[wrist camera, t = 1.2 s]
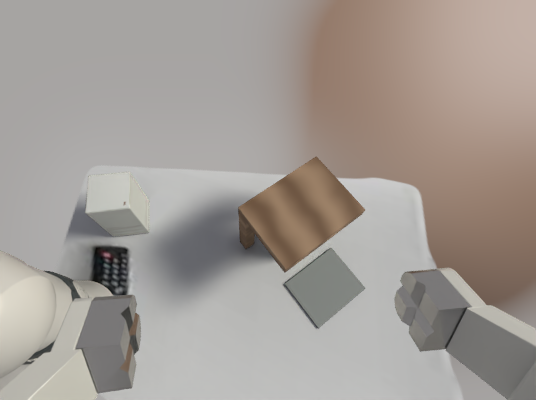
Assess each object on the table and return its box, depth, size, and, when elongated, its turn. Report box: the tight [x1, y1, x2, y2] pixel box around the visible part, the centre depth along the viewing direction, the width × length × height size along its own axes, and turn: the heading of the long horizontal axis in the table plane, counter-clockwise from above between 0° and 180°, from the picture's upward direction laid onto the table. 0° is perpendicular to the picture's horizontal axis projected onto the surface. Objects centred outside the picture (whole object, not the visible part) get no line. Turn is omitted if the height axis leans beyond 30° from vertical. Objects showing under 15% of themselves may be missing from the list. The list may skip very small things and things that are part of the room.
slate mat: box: [285, 248, 365, 328], centre depth 66 cm, size 12×10×1 cm
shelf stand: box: [238, 157, 365, 272], centre depth 61 cm, size 16×12×18 cm
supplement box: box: [85, 172, 149, 237], centre depth 64 cm, size 7×7×13 cm
